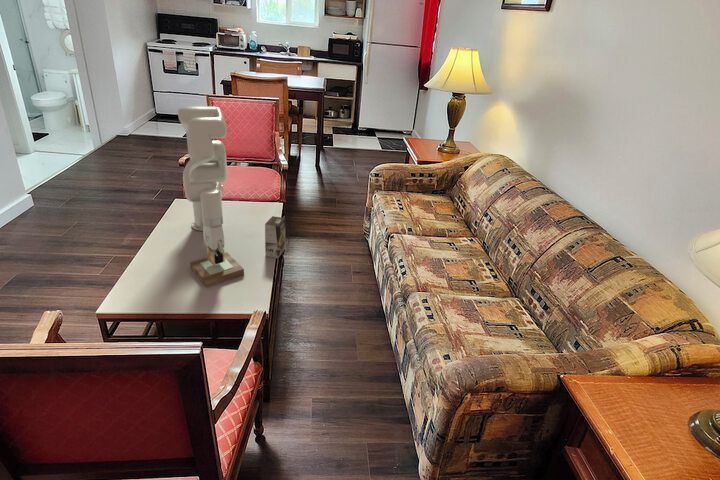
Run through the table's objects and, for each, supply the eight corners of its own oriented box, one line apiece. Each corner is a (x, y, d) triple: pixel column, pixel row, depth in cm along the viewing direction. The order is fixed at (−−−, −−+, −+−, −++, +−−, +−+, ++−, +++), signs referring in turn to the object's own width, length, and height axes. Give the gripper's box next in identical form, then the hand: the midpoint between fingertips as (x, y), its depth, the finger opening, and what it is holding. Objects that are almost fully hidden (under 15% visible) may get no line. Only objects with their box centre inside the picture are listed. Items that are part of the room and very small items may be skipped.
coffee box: (278, 258, 190) (278, 226, 182) (264, 256, 191) (264, 224, 183) (285, 248, 198) (285, 217, 190) (272, 246, 199) (272, 215, 191)
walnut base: (190, 268, 178) (189, 261, 176) (227, 257, 187) (226, 251, 186) (206, 287, 167) (205, 280, 166) (244, 275, 177) (243, 268, 175)
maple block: (208, 259, 175) (206, 246, 172) (219, 256, 178) (218, 243, 175) (213, 265, 171) (211, 252, 169) (224, 261, 174) (224, 249, 172)
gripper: (194, 213, 169) (198, 252, 178) (212, 230, 158) (216, 272, 167) (212, 209, 173) (216, 248, 182) (231, 226, 162) (234, 266, 171)
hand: (216, 259), depth 174 cm, fingers closed on maple block, 5 cm apart
